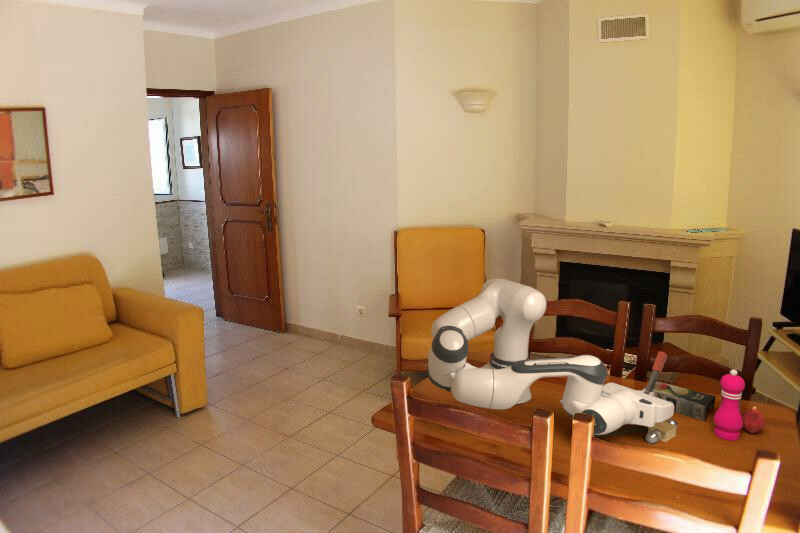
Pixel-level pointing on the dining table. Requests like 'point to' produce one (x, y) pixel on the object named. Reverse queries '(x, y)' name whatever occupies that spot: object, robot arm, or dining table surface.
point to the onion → (753, 420)
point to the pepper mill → (729, 407)
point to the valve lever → (656, 370)
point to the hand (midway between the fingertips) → (649, 393)
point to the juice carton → (685, 400)
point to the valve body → (662, 431)
